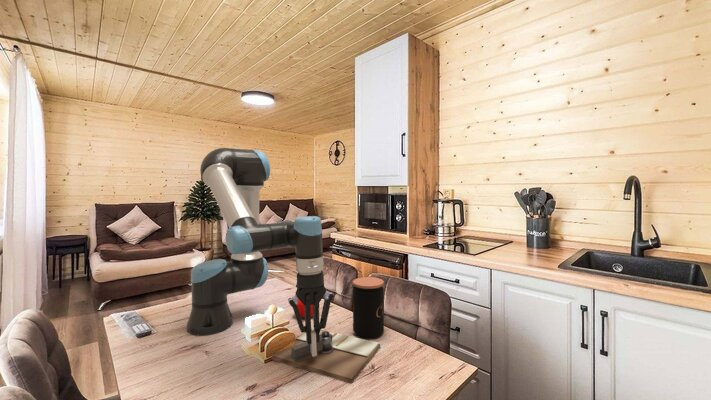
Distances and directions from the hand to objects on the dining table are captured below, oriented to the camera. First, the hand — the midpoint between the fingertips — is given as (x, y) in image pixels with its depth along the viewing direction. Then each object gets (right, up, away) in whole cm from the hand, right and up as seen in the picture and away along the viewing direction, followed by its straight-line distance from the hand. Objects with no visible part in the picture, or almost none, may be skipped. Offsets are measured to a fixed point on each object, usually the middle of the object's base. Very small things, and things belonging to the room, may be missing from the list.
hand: (313, 353), depth 90 cm
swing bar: (-1, -1, +3) cm, 3 cm away
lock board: (+3, -3, +6) cm, 7 cm away
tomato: (-8, -2, +35) cm, 36 cm away
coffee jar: (+16, -3, +20) cm, 26 cm away
